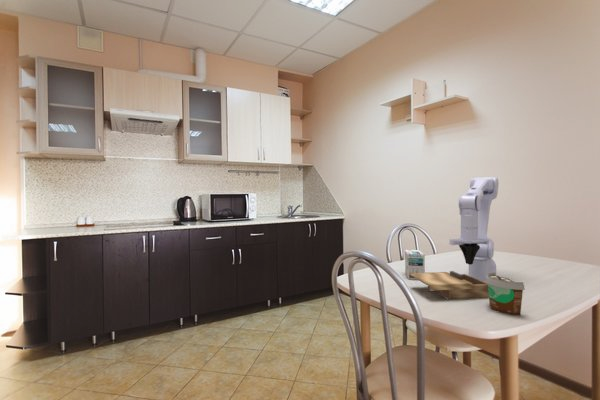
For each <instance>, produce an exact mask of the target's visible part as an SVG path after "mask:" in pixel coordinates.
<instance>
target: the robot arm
mask: <svg viewBox="0 0 600 400" xmlns="http://www.w3.org/2000/svg"><path fill="white" fill-rule="evenodd" d="M469 187H470V188H469V189H468V190H466V193H465V194H464V195H461V196H459V198H458V208H459V209H458V210H459V211H458V212H459V215H460V238H453V239H452V238H451V239H449V243H448V244H449V245H450V246H459V249H460V250H461V252H462V255H463V257H464V260H465V264H466V265H468V276H471V277H473V278H476V279H478V280H480V281H483V282H485V280H486V276H487V274H488V273H493V272H496V273H497V265H496V262H495V260H493V257H494V254H495V253H494V249H495V248H494V246H495V245H494V241H493V239H492V238H491V237H489V236H488V228H489V221H490V220H489V219H490V209H491V205H492V201H493V200H495V199H497V198H498V195H499V193H498V192H499V179H498V177H497V176H485V177H483V176H481V177H474V176H473V177H471V179H470V181H469ZM485 283H486V282H485Z"/></svg>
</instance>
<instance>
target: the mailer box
mask: <svg viewBox="0 0 600 400" xmlns="http://www.w3.org/2000/svg"><path fill="white" fill-rule="evenodd" d="M460 274H461V273H460ZM461 275H463V279H464V280H466V281H468V282H470V283H473V289H456V290H433V292H435V293H437V294H439V295H441V296H442V297H444V298H446V299H448V300H449V301H450V300H451V301H453V300H472V299H473V300H476V299H489V291H488V283H485V282H483V281H480V280H478V279H476V278H473V277H471V276H469V274H465V273H462V274H461ZM427 288H428V289H430V286H428V285H427Z"/></svg>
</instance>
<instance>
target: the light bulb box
mask: <svg viewBox="0 0 600 400" xmlns="http://www.w3.org/2000/svg"><path fill="white" fill-rule="evenodd" d="M404 254H405V255H404V260H405V261H404V262H405V263H404V265H405V275H406V277H407V279H408V280H416V281H417V279H416V278H409V273H426V272H425V271H426V270H425V268H426V267H425V259H426V257H425V253H423V252H422V251H421V250H420V249H405V250H404Z"/></svg>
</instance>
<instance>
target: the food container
mask: <svg viewBox="0 0 600 400" xmlns="http://www.w3.org/2000/svg"><path fill="white" fill-rule="evenodd" d="M485 282H486V283H488V291H489V298H488V299H489V308H490V309H492V310H493V311H495V312H498V313H500V314H505V315H511V316H521V315H522V314H521V313H522V301H523V300H522V299H523V293H524V290H526V289H525V284H524V282H522V281H514V280H511V279H509V278H507V277H501V276H499V275H497V271H496V272H493V273H488V274H487V276H486V280H485Z"/></svg>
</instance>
